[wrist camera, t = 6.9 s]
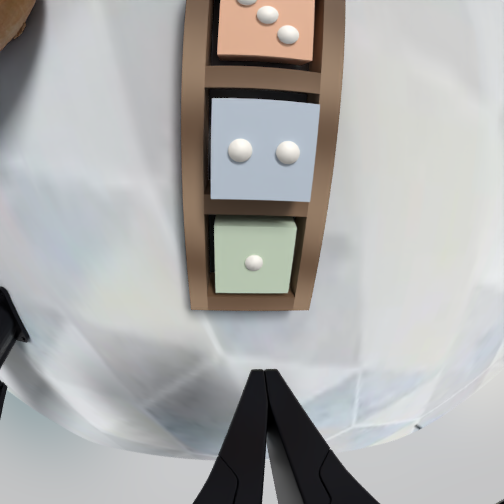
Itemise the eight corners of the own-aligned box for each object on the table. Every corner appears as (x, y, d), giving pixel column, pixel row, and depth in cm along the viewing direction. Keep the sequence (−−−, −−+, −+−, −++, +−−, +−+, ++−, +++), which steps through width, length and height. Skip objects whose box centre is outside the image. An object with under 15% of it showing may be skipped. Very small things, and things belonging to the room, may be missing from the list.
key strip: (301, 285, 20) (308, 310, 17) (195, 284, 19) (191, 309, 17) (330, -15, 10) (345, -30, 8) (197, -25, 10) (191, -43, 7)
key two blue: (299, 185, 14) (310, 203, 12) (214, 183, 13) (210, 200, 11) (307, 103, 12) (321, 104, 10) (215, 98, 11) (211, 98, 9)
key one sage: (282, 271, 18) (288, 294, 16) (217, 270, 18) (215, 293, 16) (289, 210, 16) (297, 229, 14) (216, 209, 16) (213, 227, 14)
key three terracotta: (301, 65, 12) (312, 60, 10) (219, 60, 12) (216, 53, 10) (304, -2, 10) (315, -16, 8) (224, -8, 10) (221, -24, 8)
